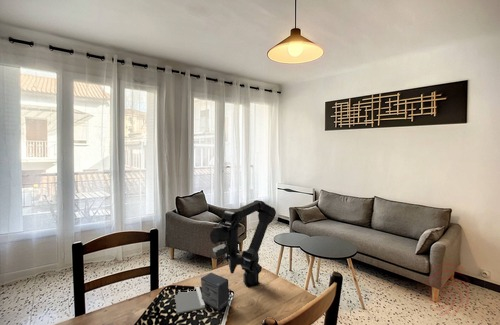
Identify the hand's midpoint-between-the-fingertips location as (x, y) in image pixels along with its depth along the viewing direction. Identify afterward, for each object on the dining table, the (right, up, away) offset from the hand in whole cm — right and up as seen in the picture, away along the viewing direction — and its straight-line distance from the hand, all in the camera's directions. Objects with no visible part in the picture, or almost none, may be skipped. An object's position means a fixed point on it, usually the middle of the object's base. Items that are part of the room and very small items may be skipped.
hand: (231, 273), depth 117 cm
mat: (-18, -9, -6) cm, 21 cm away
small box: (-6, -9, -8) cm, 14 cm away
